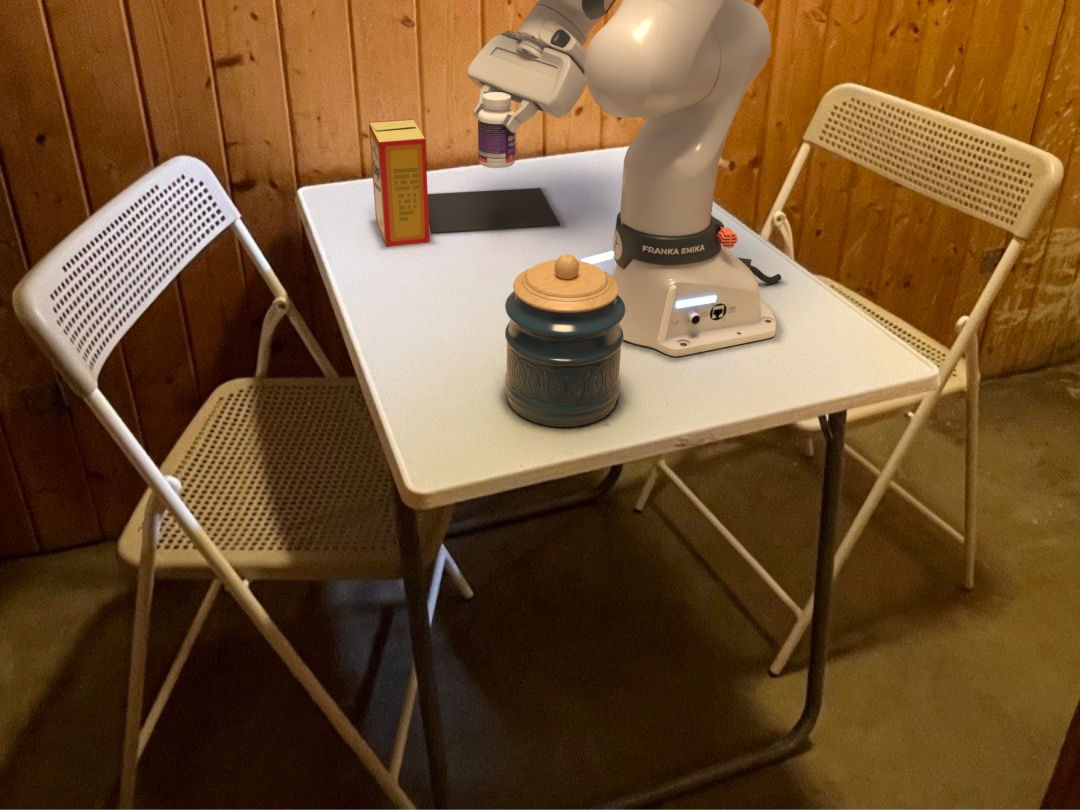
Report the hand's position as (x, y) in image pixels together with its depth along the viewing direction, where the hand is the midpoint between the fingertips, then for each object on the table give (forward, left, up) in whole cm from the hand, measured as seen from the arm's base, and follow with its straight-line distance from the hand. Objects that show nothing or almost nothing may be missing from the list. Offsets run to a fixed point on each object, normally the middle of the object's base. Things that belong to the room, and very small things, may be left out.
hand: (493, 123), depth 144 cm
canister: (0, +46, -17) cm, 49 cm away
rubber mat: (-1, -10, -17) cm, 20 cm away
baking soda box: (+13, -4, -17) cm, 22 cm away
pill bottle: (-1, 0, -6) cm, 6 cm away
